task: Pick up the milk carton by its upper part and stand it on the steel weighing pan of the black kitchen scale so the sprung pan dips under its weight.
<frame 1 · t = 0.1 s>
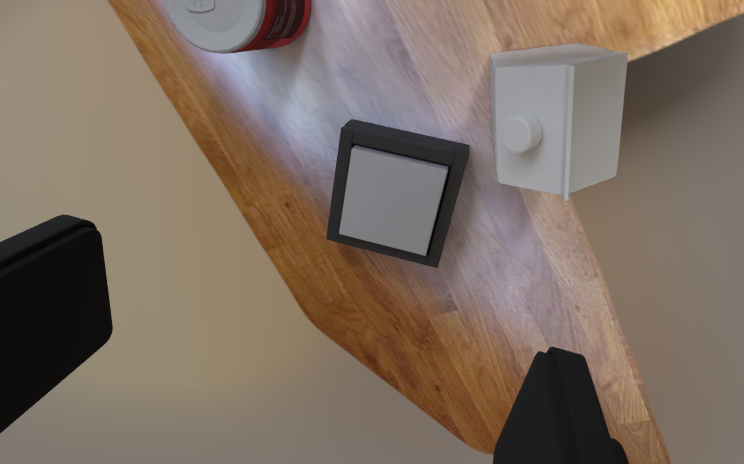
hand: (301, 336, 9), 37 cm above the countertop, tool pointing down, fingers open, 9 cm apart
canned food: (274, 3, 42), on the countertop
milk carton: (531, 90, 40), on the countertop
scale: (398, 187, 47), on the countertop
scale pan: (391, 201, 43), point 4 cm above the countertop, slide at -0.2 cm
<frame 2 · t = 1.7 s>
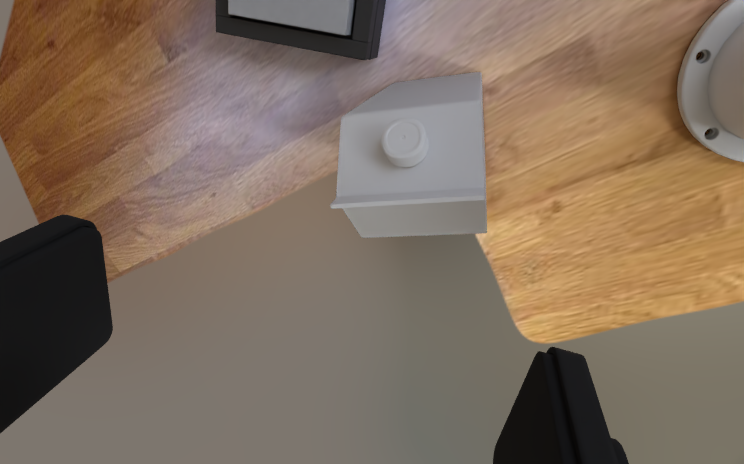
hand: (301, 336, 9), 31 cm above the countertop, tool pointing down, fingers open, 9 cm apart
milk carton: (439, 121, 37), on the countertop
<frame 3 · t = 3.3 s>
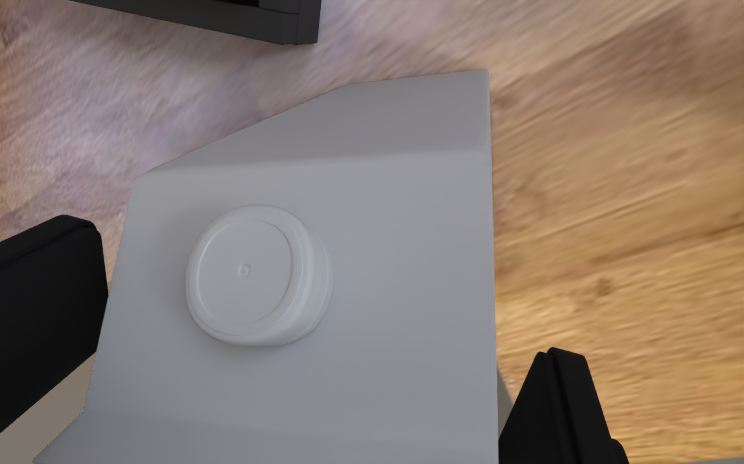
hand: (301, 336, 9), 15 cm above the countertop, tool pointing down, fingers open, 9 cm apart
milk carton: (419, 148, 23), on the countertop, touching gripper
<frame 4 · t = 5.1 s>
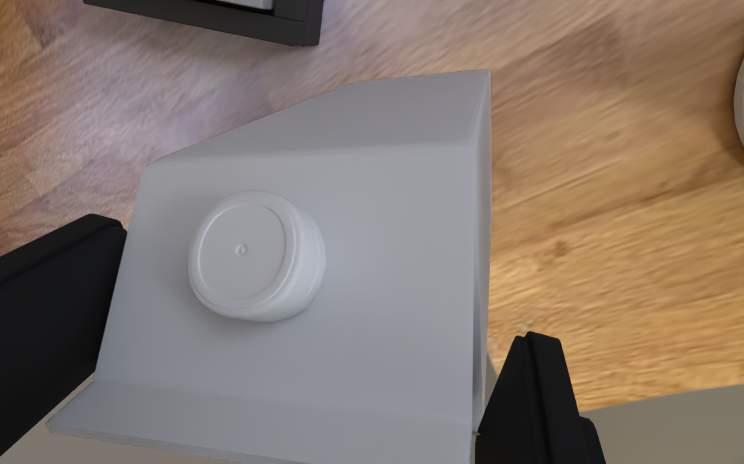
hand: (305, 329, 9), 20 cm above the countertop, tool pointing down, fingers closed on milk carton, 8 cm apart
milk carton: (421, 145, 23), point 4 cm above the countertop, touching gripper
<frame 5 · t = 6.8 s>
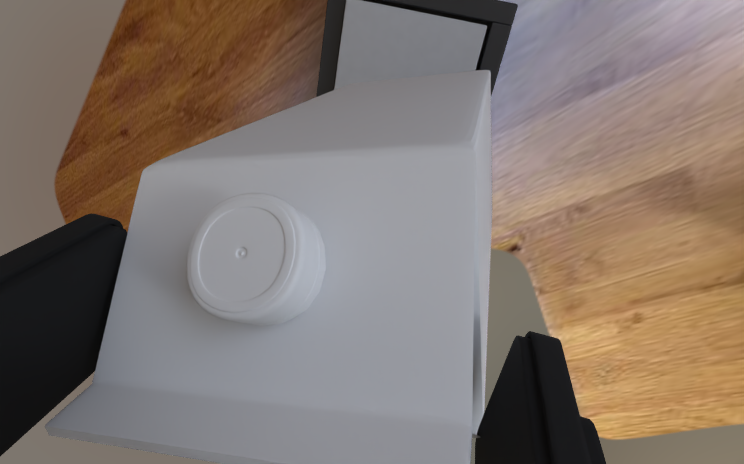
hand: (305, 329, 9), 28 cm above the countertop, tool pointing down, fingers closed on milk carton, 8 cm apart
milk carton: (422, 146, 23), point 12 cm above the countertop, touching gripper
scale: (410, 77, 34), on the countertop
scale pan: (402, 84, 30), point 4 cm above the countertop, slide at -0.2 cm
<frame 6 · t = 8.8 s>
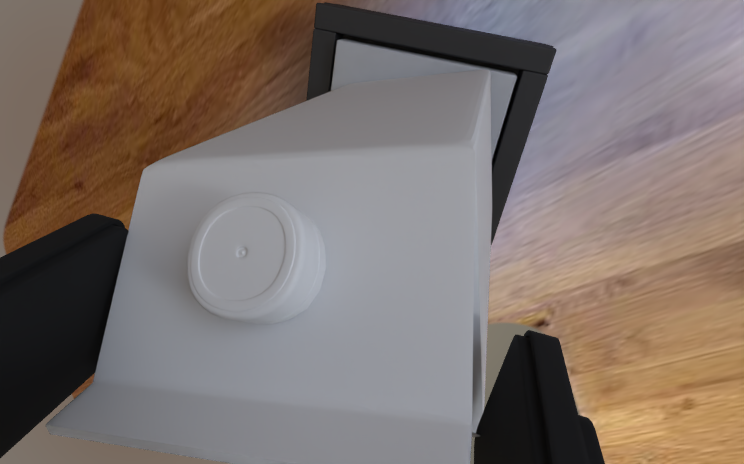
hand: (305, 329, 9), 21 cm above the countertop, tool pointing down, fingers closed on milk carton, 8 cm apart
milk carton: (421, 146, 23), point 5 cm above the countertop, touching gripper, scale pan
scale: (416, 128, 28), on the countertop
scale pan: (408, 142, 24), point 4 cm above the countertop, slide at -0.5 cm, touching milk carton
when the fingers open (21 cm above the countertop, at t = 9.3 s): milk carton stays where it is, resting on scale pan.
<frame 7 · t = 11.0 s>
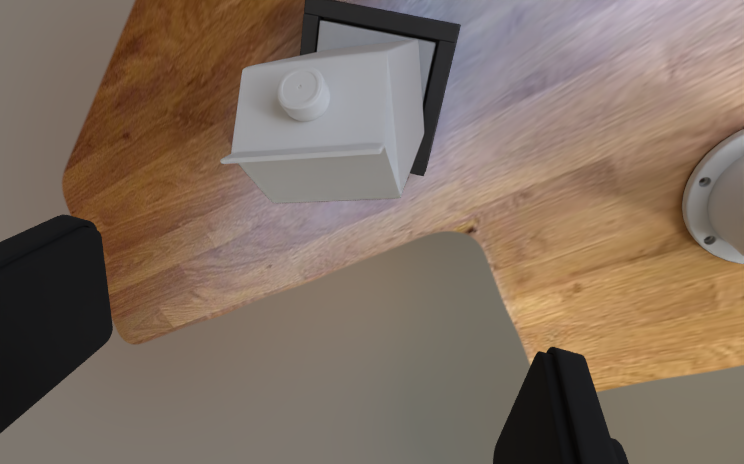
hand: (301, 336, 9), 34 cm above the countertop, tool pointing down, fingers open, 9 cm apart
milk carton: (377, 91, 36), point 4 cm above the countertop, touching scale pan
scale: (376, 85, 39), on the countertop
scale pan: (368, 90, 36), point 4 cm above the countertop, slide at -0.7 cm, touching milk carton
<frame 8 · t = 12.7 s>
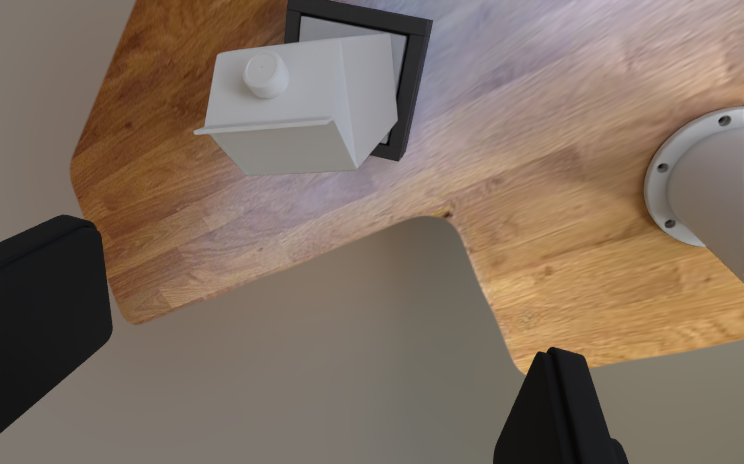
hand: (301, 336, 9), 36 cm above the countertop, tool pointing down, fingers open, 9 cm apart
milk carton: (355, 82, 38), point 4 cm above the countertop, touching scale pan
scale: (357, 77, 42), on the countertop
scale pan: (347, 81, 39), point 4 cm above the countertop, slide at -0.7 cm, touching milk carton
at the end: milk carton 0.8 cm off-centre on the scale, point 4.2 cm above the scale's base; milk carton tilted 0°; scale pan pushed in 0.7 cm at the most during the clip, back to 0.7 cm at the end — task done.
